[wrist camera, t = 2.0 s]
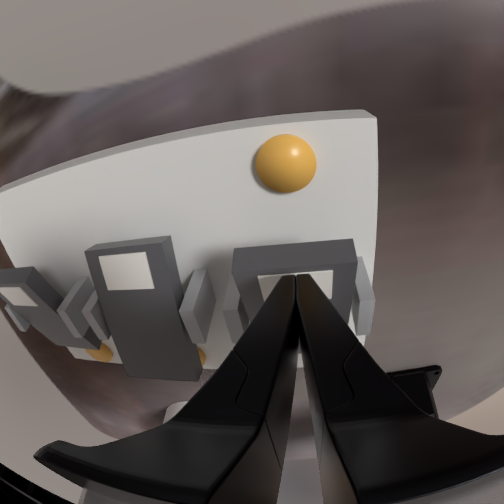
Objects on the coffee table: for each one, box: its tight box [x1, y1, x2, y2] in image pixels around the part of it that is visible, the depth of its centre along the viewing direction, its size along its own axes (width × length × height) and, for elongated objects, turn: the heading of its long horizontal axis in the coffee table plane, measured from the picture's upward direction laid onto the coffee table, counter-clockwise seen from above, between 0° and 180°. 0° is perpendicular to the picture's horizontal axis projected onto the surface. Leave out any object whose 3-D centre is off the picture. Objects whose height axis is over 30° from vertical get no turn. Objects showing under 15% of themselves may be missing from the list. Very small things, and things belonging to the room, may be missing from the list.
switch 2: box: [84, 235, 203, 382], centre depth 14 cm, size 7×4×1 cm, turn 9°
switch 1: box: [0, 266, 102, 350], centre depth 15 cm, size 7×4×1 cm, turn 9°
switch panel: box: [0, 110, 378, 369], centre depth 15 cm, size 14×21×5 cm, turn 99°
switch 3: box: [231, 238, 358, 354], centre depth 13 cm, size 7×4×1 cm, turn 9°
